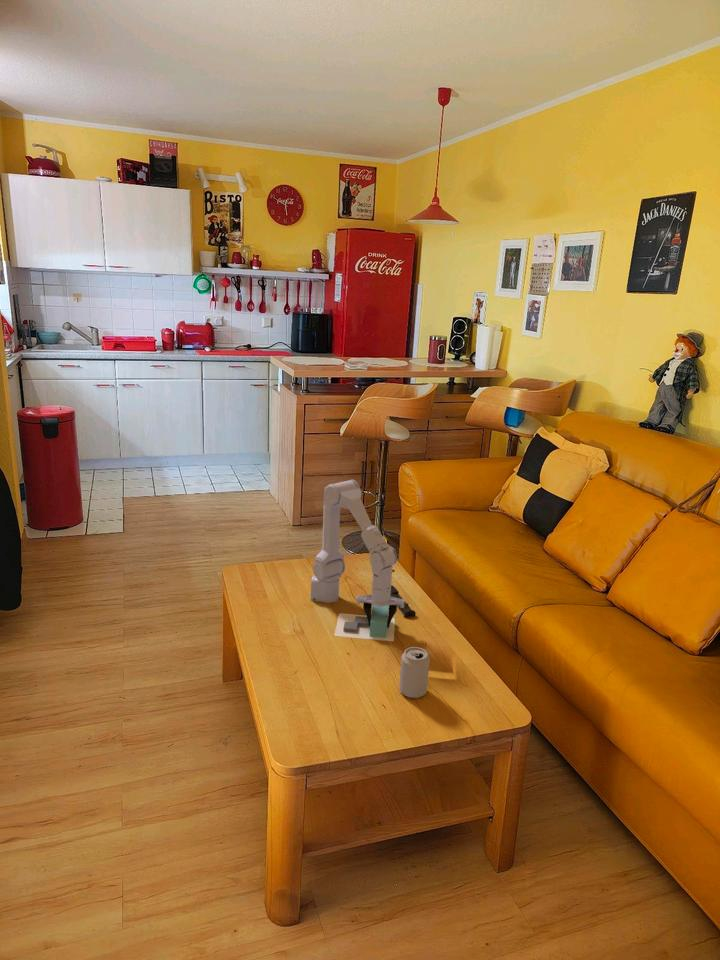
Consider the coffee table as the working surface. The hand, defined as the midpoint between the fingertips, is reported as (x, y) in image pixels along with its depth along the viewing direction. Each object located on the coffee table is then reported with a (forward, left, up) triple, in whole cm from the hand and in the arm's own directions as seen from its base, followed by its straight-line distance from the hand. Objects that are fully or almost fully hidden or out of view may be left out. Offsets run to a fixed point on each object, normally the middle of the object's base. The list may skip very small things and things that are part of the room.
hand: (378, 625), depth 204 cm
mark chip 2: (-6, +2, -1) cm, 6 cm away
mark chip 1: (-9, -2, -1) cm, 9 cm away
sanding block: (0, 0, -1) cm, 1 cm away
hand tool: (+5, +17, -3) cm, 18 cm away
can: (+11, -29, -3) cm, 31 cm away
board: (-4, 0, -2) cm, 5 cm away
